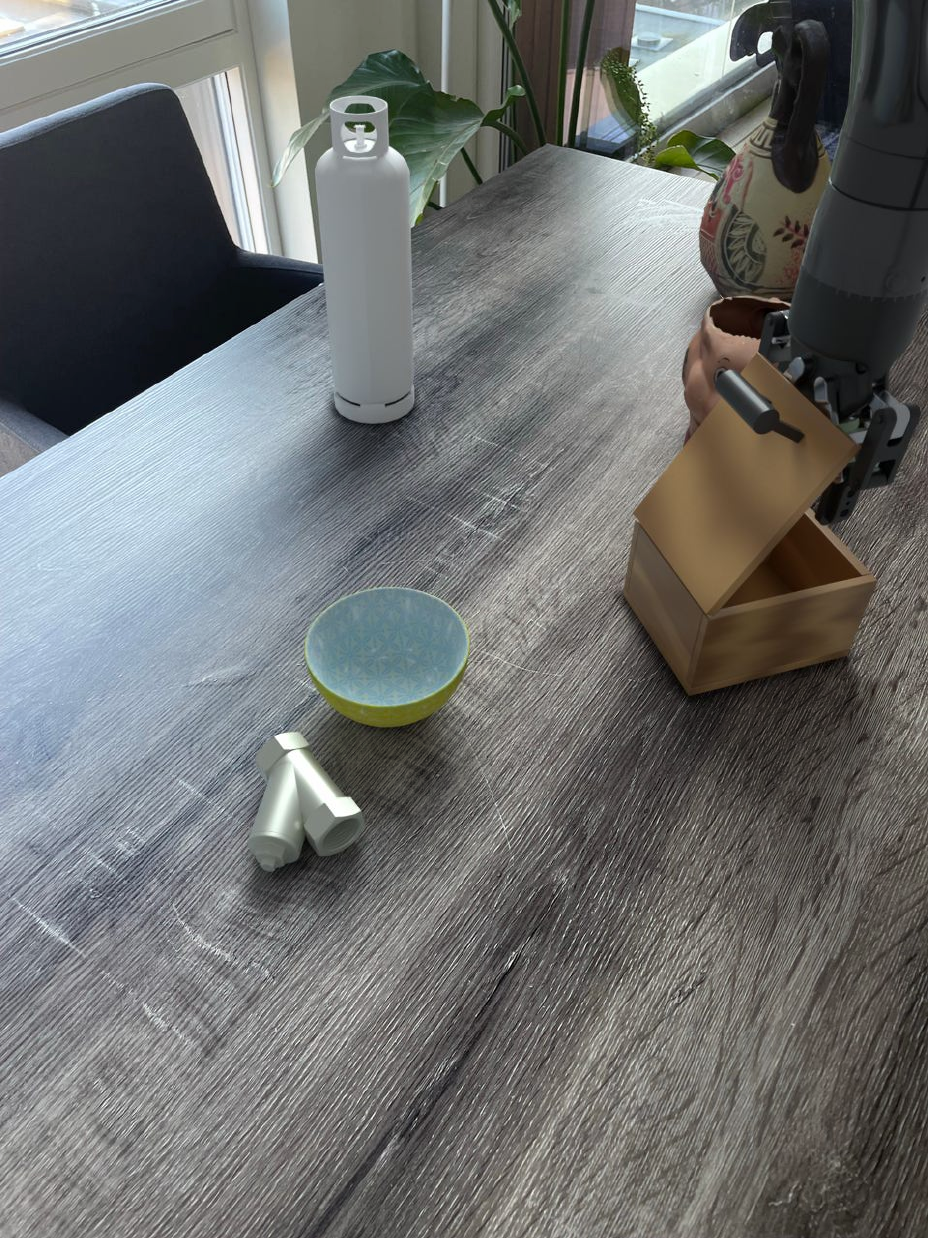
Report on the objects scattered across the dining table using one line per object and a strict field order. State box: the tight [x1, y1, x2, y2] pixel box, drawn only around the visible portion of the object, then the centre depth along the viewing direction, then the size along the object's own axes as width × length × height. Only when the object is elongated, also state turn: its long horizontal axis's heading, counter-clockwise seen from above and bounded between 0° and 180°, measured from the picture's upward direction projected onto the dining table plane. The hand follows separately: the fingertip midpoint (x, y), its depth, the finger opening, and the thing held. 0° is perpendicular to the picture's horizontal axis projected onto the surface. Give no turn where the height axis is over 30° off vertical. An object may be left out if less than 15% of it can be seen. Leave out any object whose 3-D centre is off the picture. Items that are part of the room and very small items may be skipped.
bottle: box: [314, 95, 415, 425], centre depth 92 cm, size 8×8×28 cm
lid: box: [632, 352, 861, 616], centre depth 67 cm, size 14×12×5 cm
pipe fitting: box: [246, 731, 366, 872], centre depth 64 cm, size 8×4×7 cm
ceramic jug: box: [698, 19, 832, 304], centre depth 107 cm, size 17×15×30 cm
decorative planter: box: [681, 296, 791, 448], centre depth 92 cm, size 20×12×14 cm, turn 162°
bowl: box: [303, 586, 471, 728], centre depth 70 cm, size 11×12×6 cm
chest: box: [622, 506, 879, 697], centre depth 76 cm, size 14×12×8 cm
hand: (799, 487), depth 71 cm, fingers closed on block, 7 cm apart
